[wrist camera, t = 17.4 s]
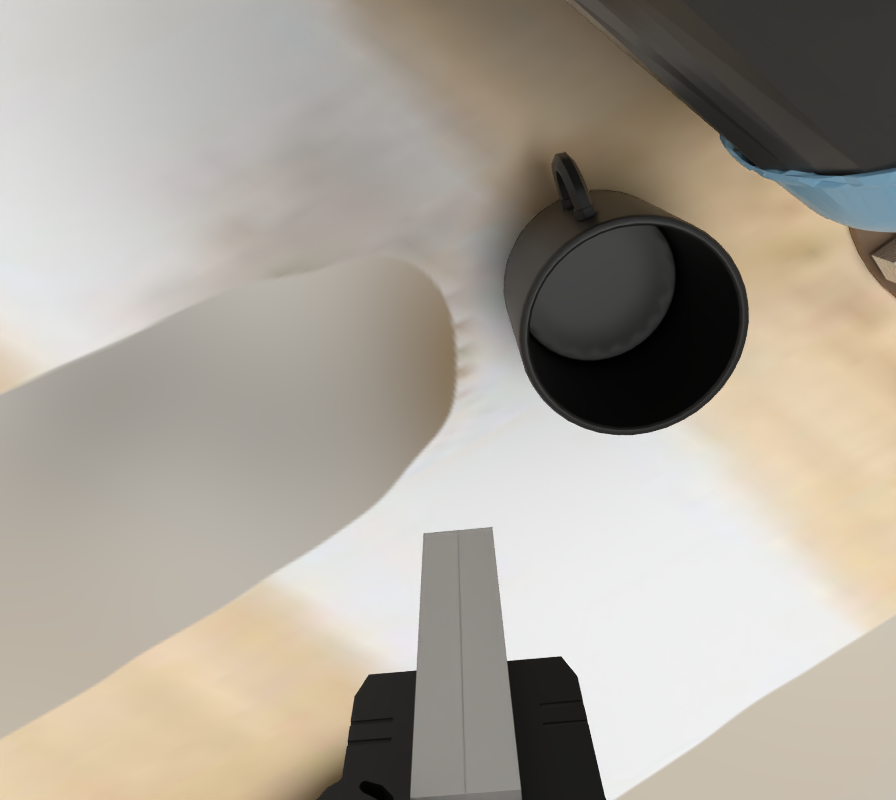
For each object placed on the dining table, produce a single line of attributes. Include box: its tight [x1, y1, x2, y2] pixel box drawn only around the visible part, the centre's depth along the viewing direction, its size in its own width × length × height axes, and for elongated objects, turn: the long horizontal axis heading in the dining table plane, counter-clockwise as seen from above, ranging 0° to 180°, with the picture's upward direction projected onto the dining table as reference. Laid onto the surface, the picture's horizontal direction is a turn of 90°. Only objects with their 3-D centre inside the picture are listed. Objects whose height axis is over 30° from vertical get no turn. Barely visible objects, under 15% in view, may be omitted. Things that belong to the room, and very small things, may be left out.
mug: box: [504, 152, 749, 435], centre depth 34 cm, size 9×12×9 cm
